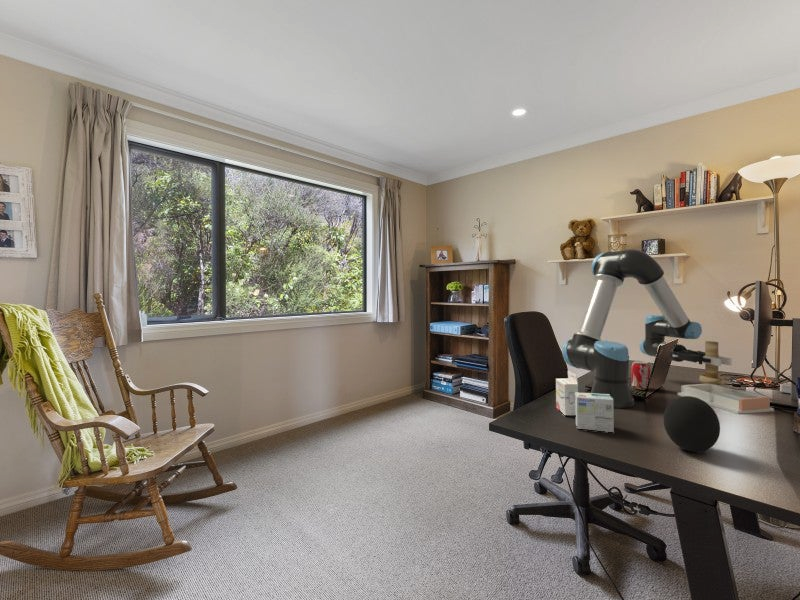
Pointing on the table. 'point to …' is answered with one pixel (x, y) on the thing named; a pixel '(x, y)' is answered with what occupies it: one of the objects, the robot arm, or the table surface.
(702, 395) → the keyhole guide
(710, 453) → the table surface
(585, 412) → the light bulb box
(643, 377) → the soda can
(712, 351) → the headed peg
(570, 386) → the ink cartridge box
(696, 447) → the decorative egg
